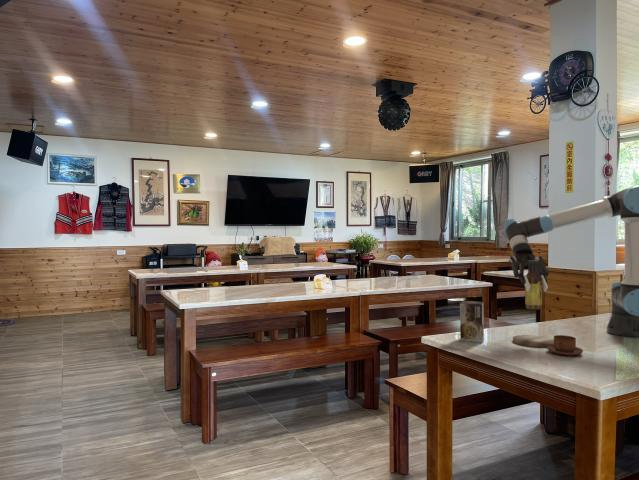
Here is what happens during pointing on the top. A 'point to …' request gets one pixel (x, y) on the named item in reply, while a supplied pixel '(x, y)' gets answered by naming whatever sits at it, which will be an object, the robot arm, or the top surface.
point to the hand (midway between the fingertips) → (537, 289)
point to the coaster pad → (533, 341)
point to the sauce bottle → (533, 287)
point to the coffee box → (471, 321)
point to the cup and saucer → (564, 346)
